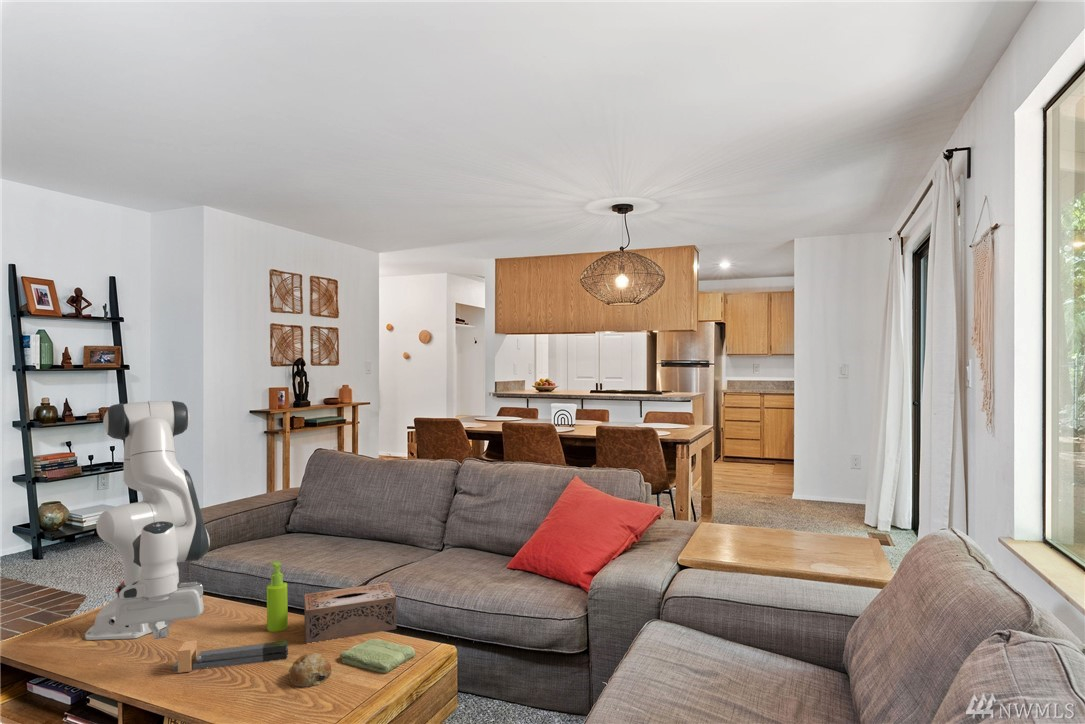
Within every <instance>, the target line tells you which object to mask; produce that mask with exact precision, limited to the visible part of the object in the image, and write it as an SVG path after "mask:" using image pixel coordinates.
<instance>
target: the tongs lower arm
mask: <svg viewBox="0 0 1085 724" xmlns="http://www.w3.org/2000/svg"><path fill="white" fill-rule="evenodd" d="M288 654H289V647H288V648H287V650H286V651H282V652H274V653H266V654H256V655H248V656H240V657H232V658H224V659H216V660H208V661H200V662H196V661H195V659H193V660H191V669H192V670H191V671H193V670H202V669H201V668H204V669H210V668H209V667H213V668H218V667H219V666H221V667H229V666H237V665H246V664H255V663H261V662H262V663H264V662H265V661H266V662H271V661H270V660H274V661H280V660H279V659H283V660H287V659H286V658H288V656H289V655H288ZM287 655H288V656H287ZM207 667H208V668H207ZM219 668H220V667H219ZM176 672H177V673H178V660H177V661H176V662H175V663H174V665H173V673H176Z"/></svg>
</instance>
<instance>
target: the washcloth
mask: <svg viewBox="0 0 1085 724" xmlns="http://www.w3.org/2000/svg"><path fill="white" fill-rule="evenodd" d="M415 656H416V651H415V649H414V648H413V647H412V646H411V645H405V644H404V645H403V644H399V643H398V642H397V643H396V642H390V641H386V640H384V639H383V640H382V639H380V638H372V639H371V638H370V639H368V640H367V641H364V642H361V643H358V644H356V645H353V646H352V647H351V648H349V649H348V650H343V651H342V652H340V654H339V657H340V658H341V663H342V662H344V663H343V664H346V663H347V664H346V665H350V664H351V665H350V666H353V665H355V666H354V667H357V668H363V669H366V670H369V671H372V672H377V673H382V674H387V673H389V672H391V671H392V670H394V669H396V668H398V667H399V665H401V664H403V663H406V662H407V661H409V660H411V659H413V658H414V657H415Z"/></svg>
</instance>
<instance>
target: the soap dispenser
mask: <svg viewBox="0 0 1085 724" xmlns="http://www.w3.org/2000/svg"><path fill="white" fill-rule="evenodd" d="M268 564H269V565H272V566H273V573H271V575H270V584H268V585H266V630H267V631H268V632H271V633H272V632H273V633H274V632H275V633H276V632H281V631H285V630H286V629H287V628H288V627H289V622H288V621H289V620H288V618H289V616H288V615H289V614H288V606H289V603H288V583H287V582H284V573H283V572H282V571H281V567H283V566H282V565H283V564H282V563H281V562H280V561H278V560H273V561H269V562H268Z"/></svg>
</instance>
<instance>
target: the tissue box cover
mask: <svg viewBox="0 0 1085 724" xmlns="http://www.w3.org/2000/svg"><path fill="white" fill-rule="evenodd" d="M303 597H304V598H303V599H304V600H303V601H304V602H303V604H304V612H303V613H304V617H303V618H304V633H305V643H306V644H307V643H311V644H313V643H312V642H316V643H320V642H319V641H322V642H327V641H326V640H328V641H333V640H332V639H334V640H339V639H338V638H340V639H345V637H346V638H350V637H357V636H363V635H369V634H373V633H374V634H375V633H379V632H386V631H392V630H397V596H396V595H395V592H394V590H393V589H392V587H391V584H390V583H389V581H388V582H382V583H375V584H366V585H360V586H352V587H345V588H339V589H333V590H324V591H323V590H322V591H317V592H312V593H311V592H310V593H305V594H304V596H303Z"/></svg>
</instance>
